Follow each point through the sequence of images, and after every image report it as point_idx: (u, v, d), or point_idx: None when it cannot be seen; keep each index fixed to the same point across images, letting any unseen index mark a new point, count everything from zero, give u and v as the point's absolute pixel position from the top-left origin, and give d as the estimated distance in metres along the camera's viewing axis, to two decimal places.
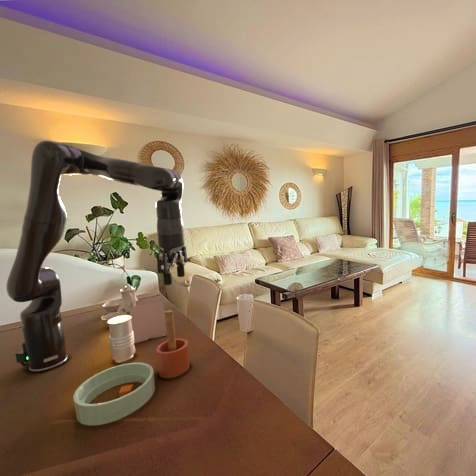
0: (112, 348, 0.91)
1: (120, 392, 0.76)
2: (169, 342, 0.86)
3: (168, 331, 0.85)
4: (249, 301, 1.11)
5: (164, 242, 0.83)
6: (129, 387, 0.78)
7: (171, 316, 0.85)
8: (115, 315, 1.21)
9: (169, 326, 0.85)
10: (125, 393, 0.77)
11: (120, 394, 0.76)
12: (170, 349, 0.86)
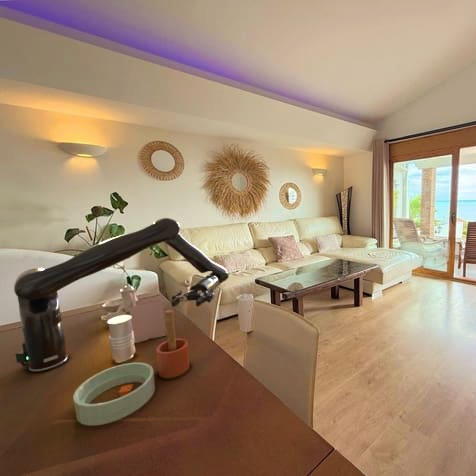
0: (112, 348, 0.91)
1: (120, 392, 0.76)
2: (169, 342, 0.86)
3: (168, 331, 0.85)
4: (249, 301, 1.11)
5: (209, 290, 1.09)
6: (129, 387, 0.78)
7: (171, 316, 0.85)
8: (115, 315, 1.21)
9: (169, 326, 0.85)
10: (125, 393, 0.77)
11: (120, 394, 0.76)
12: (170, 349, 0.86)
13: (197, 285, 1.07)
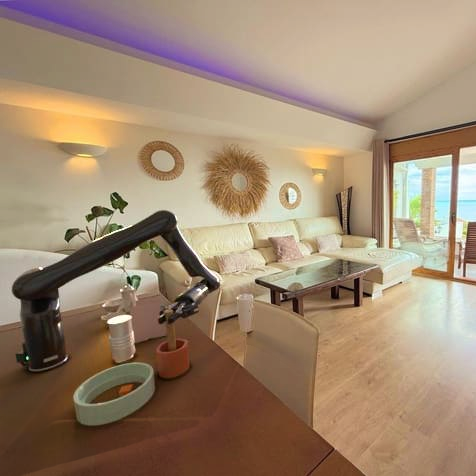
0: (112, 348, 0.91)
1: (120, 392, 0.76)
2: (169, 342, 0.86)
3: (168, 331, 0.85)
4: (249, 301, 1.11)
5: (196, 302, 0.97)
6: (129, 387, 0.78)
7: None
8: (115, 315, 1.21)
9: (169, 326, 0.85)
10: (125, 393, 0.77)
11: (120, 394, 0.76)
12: (170, 349, 0.86)
13: (182, 296, 0.95)
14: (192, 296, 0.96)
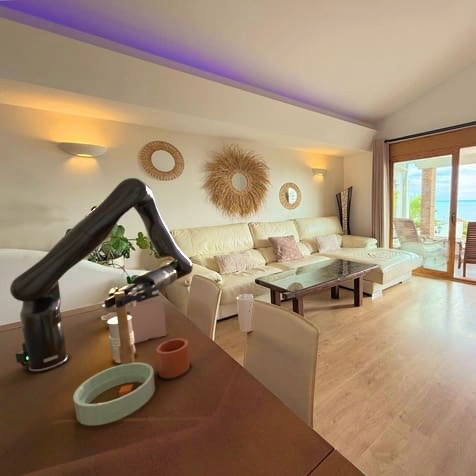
0: (112, 348, 0.91)
1: (120, 392, 0.76)
2: (120, 330, 0.72)
3: (118, 317, 0.71)
4: (249, 301, 1.11)
5: (158, 285, 0.83)
6: (129, 387, 0.78)
7: None
8: (115, 315, 1.21)
9: (119, 311, 0.71)
10: (125, 393, 0.77)
11: (120, 394, 0.76)
12: (121, 338, 0.72)
13: (141, 277, 0.80)
14: (153, 277, 0.82)
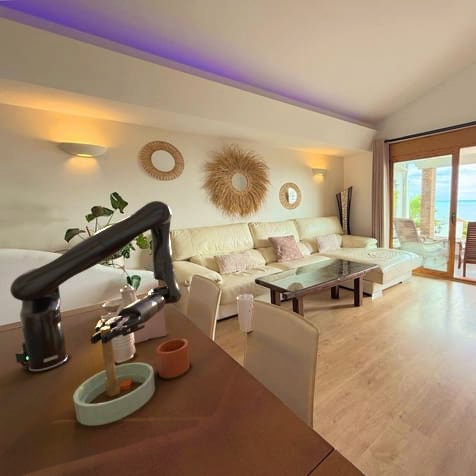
0: None
1: (120, 386, 0.79)
2: (105, 364, 0.74)
3: (104, 351, 0.74)
4: (249, 301, 1.11)
5: (145, 315, 0.85)
6: (128, 382, 0.80)
7: None
8: (115, 315, 1.21)
9: (105, 345, 0.73)
10: (124, 387, 0.79)
11: (120, 388, 0.78)
12: (107, 372, 0.75)
13: (127, 309, 0.83)
14: (139, 309, 0.84)
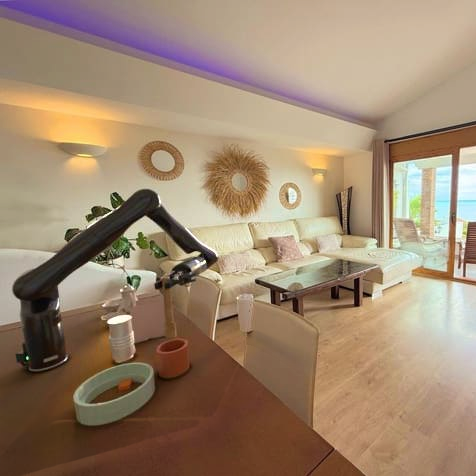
0: (112, 348, 0.91)
1: (120, 386, 0.79)
2: (166, 309, 0.84)
3: (165, 297, 0.84)
4: (249, 301, 1.11)
5: (194, 272, 0.95)
6: (128, 382, 0.80)
7: None
8: (115, 315, 1.21)
9: (166, 292, 0.83)
10: (124, 387, 0.79)
11: (120, 388, 0.78)
12: (167, 316, 0.84)
13: (179, 266, 0.93)
14: (189, 266, 0.94)
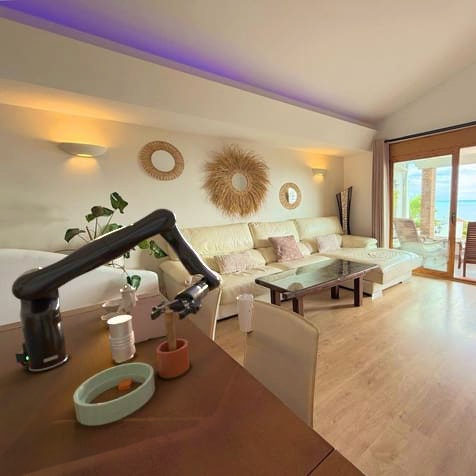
0: (112, 348, 0.91)
1: (120, 386, 0.79)
2: (169, 342, 0.86)
3: (168, 331, 0.85)
4: (249, 301, 1.11)
5: (196, 300, 0.97)
6: (128, 382, 0.80)
7: (171, 316, 0.85)
8: (115, 315, 1.21)
9: (169, 326, 0.85)
10: (124, 387, 0.79)
11: (120, 388, 0.78)
12: (170, 349, 0.86)
13: (182, 294, 0.95)
14: (192, 294, 0.96)
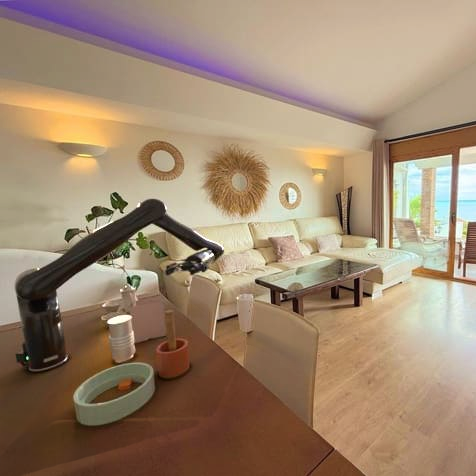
0: (112, 348, 0.91)
1: (120, 386, 0.79)
2: (169, 342, 0.86)
3: (168, 331, 0.85)
4: (249, 301, 1.11)
5: (204, 263, 1.09)
6: (128, 382, 0.80)
7: (171, 316, 0.85)
8: (115, 315, 1.21)
9: (169, 326, 0.85)
10: (124, 387, 0.79)
11: (120, 388, 0.78)
12: (170, 349, 0.86)
13: (192, 257, 1.07)
14: (200, 257, 1.08)
